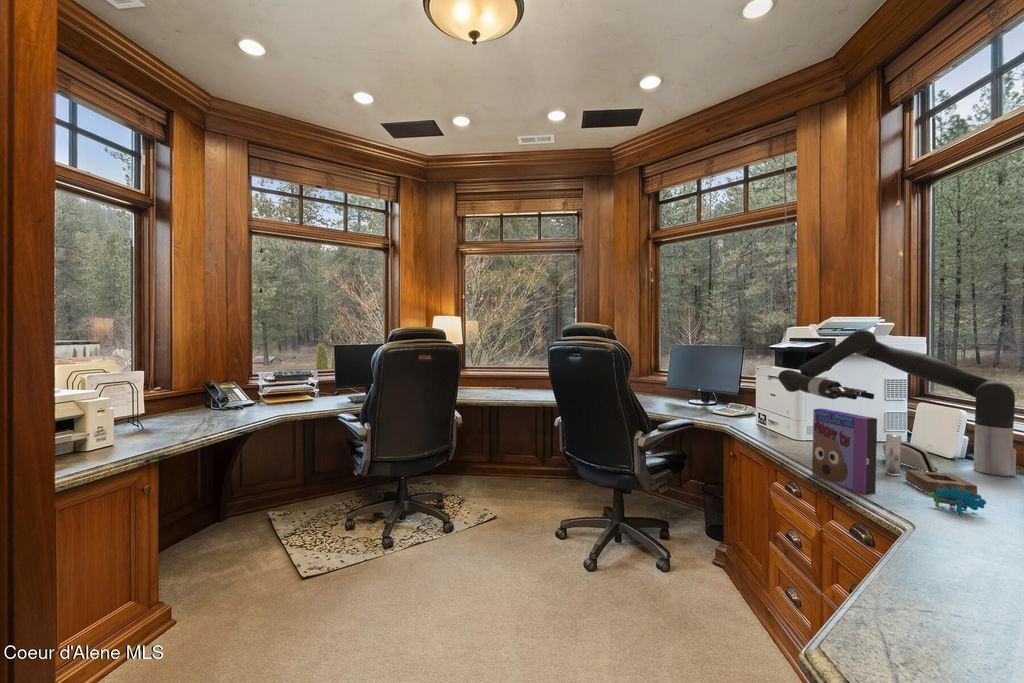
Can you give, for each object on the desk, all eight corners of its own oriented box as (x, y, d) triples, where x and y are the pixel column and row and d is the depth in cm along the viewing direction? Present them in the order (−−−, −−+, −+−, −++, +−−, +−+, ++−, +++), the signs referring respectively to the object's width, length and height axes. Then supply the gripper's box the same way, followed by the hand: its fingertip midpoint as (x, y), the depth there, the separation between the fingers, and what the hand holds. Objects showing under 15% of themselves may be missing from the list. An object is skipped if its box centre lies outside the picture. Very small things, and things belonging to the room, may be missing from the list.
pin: (896, 472, 153) (897, 434, 153) (902, 476, 149) (903, 437, 149) (883, 471, 154) (883, 433, 154) (888, 475, 150) (889, 436, 150)
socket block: (950, 485, 140) (950, 473, 140) (977, 498, 129) (977, 486, 129) (905, 481, 144) (905, 469, 144) (927, 494, 133) (928, 481, 133)
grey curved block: (940, 472, 153) (931, 447, 153) (927, 477, 153) (919, 451, 153) (897, 458, 170) (889, 435, 170) (886, 462, 170) (878, 439, 170)
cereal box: (812, 476, 149) (813, 408, 149) (822, 475, 150) (824, 408, 150) (863, 494, 132) (865, 418, 132) (875, 493, 133) (877, 417, 133)
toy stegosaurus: (990, 508, 118) (980, 488, 114) (990, 528, 115) (980, 507, 112) (935, 501, 127) (925, 481, 124) (934, 519, 124) (923, 499, 121)
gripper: (811, 379, 174) (851, 387, 159) (838, 379, 178) (880, 387, 162) (809, 397, 175) (849, 406, 159) (836, 396, 178) (878, 406, 163)
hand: (864, 396), depth 161 cm, fingers open, 8 cm apart
